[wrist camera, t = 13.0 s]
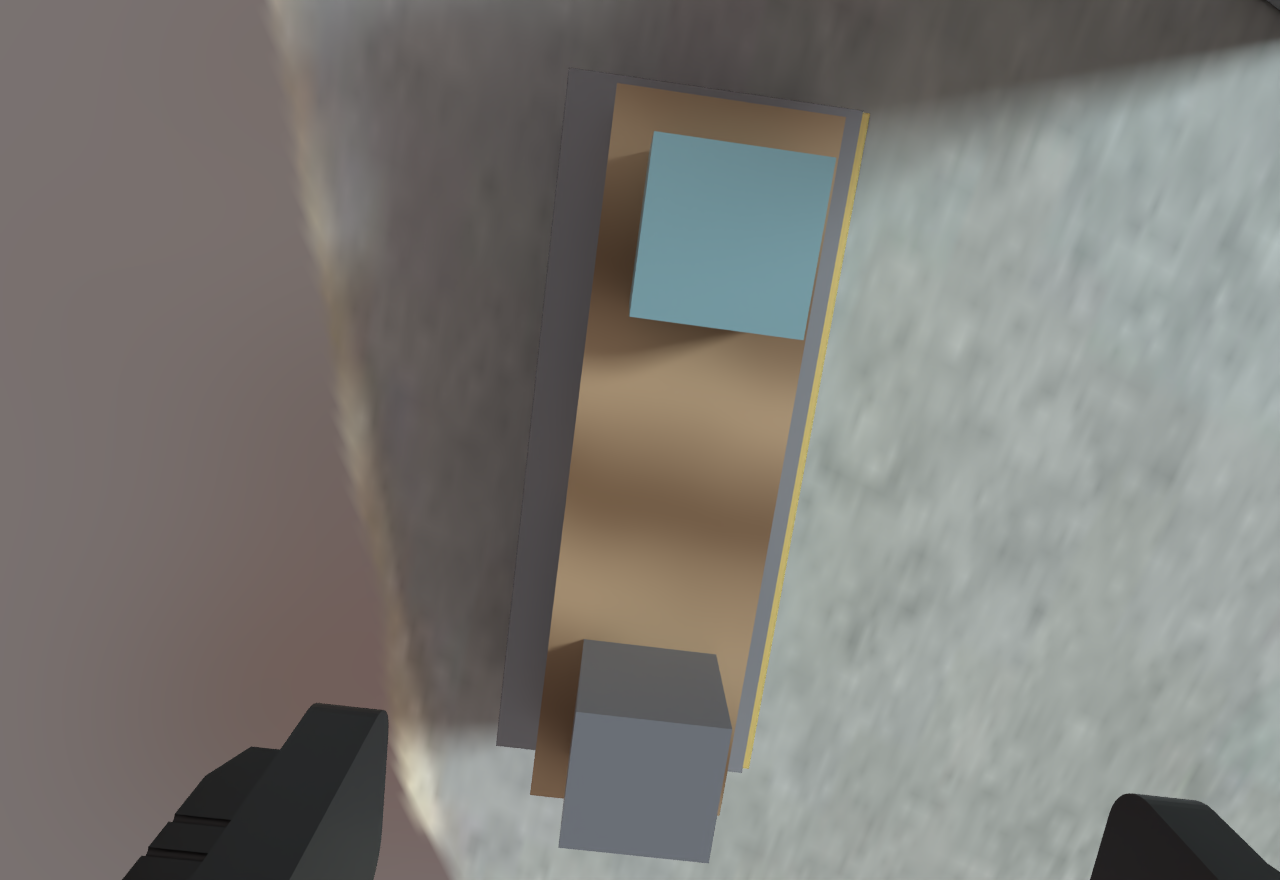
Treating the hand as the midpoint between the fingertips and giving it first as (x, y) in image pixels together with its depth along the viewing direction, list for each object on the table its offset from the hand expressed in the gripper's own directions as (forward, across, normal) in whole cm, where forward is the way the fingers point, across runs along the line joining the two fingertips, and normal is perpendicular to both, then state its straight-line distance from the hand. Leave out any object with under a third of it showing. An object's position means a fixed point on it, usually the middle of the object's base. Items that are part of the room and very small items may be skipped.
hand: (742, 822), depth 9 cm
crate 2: (+15, 0, -6) cm, 16 cm away
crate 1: (+15, 0, +8) cm, 17 cm away
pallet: (+19, 0, +1) cm, 19 cm away
